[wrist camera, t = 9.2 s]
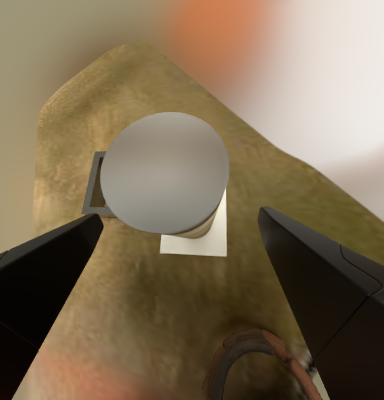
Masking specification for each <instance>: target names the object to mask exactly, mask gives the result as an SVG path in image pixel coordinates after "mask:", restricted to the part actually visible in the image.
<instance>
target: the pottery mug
mask: <svg viewBox="0 0 384 400" xmlns="http://www.w3.org/2000/svg"><path fill="white" fill-rule="evenodd" d="M249 352H262V353H266V354H269V355H274V354H275V355H277V356H278V357H280V358H281V359H282V360H283V361H284V362H285V363H286V364H287V367H288V369H289V370H290V372H291V373H292V374H293V375H294V377H295V378H296V380H297V381H298V382H299V384H300V386H301V387H302V389H303V391H304V393H305V395H306V397H307V399H308V400H322V398H321V396H320V394H319V392H318V390H317V388H316V386H315V385H314V383H313V382H312V380H311V378H310V376H309V375H308V373H307V372H306V371H305V370H304V369H303V367H302V366H301V365H300V363H299V362H298V361H297V360H296V358H295V357H294V356H293V355H292V354H291V353H290V352H289V351H288V350H287V349H286V346H285V343H284V342H283V341H282V340H281V339H279V338H278V337H277V336H275V335H273V334H272V333H270V332H268V331H265V330H262V331H261V330H260V329H258V328H251V329H247V330H242V331H239V332H237V333H235V334H233V335H231V336H230V337H228V338H227V339H226V340H224V342H223V347H222V348H219V349H218V350H217V351H216V353H215V356H214V358H213V361H212V363H211V367H210V369H209V372H208V374H207V376H206V378H205V380H204V383H203V386H202V388H203V390H204V394H205V396H206V398H207V400H223V389H224V383H225V379H226V376H227V373H228V371H229V369H230V367H231V366H232V364H233V363H234V362H235V361H236V360H237V359H238V358H240V357H241V356H242V355H244V354H246V353H249Z"/></svg>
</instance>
